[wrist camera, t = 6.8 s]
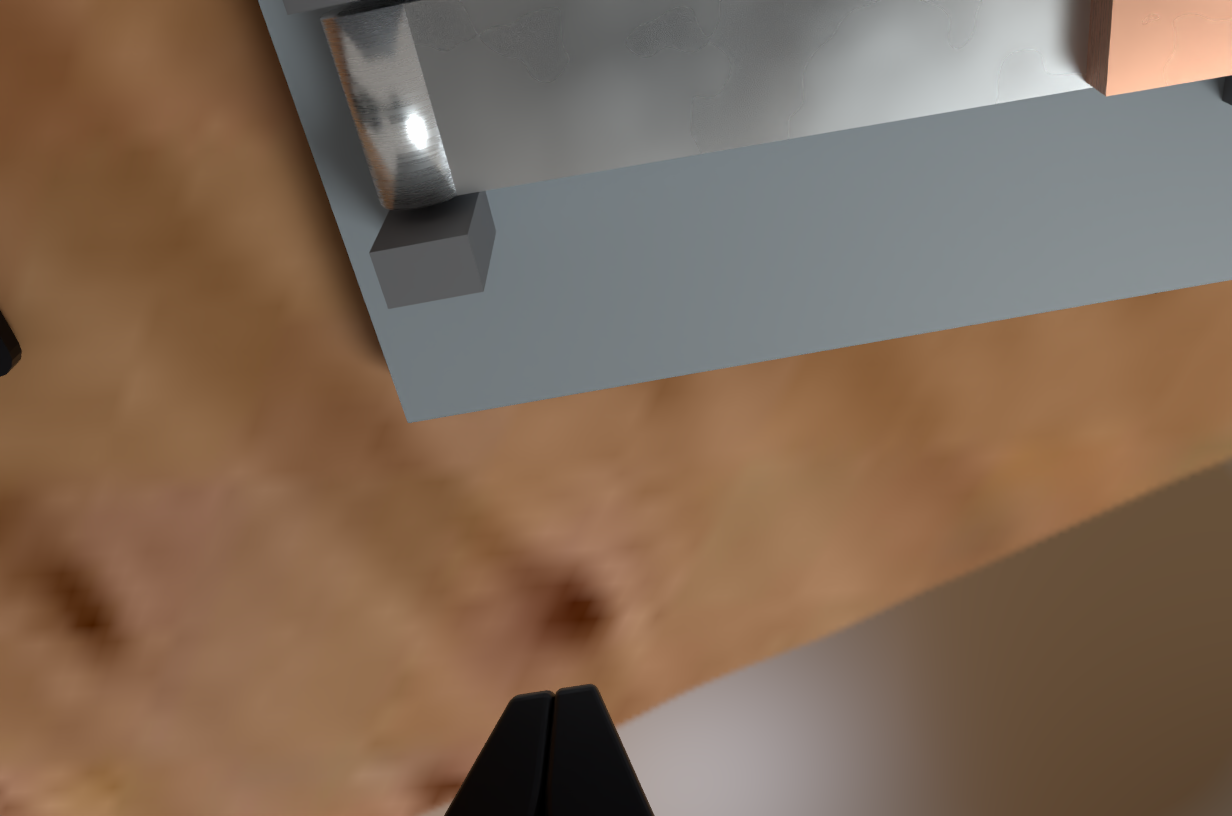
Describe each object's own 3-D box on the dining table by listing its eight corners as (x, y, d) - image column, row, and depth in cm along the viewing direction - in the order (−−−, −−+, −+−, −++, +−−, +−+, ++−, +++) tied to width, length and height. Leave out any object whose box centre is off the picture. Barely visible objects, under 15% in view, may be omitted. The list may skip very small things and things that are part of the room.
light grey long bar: (392, 183, 17) (362, 228, 16) (336, 4, 16) (295, 33, 14) (1320, 21, 16) (1406, 53, 14) (1361, -198, 14) (1462, -195, 12)
